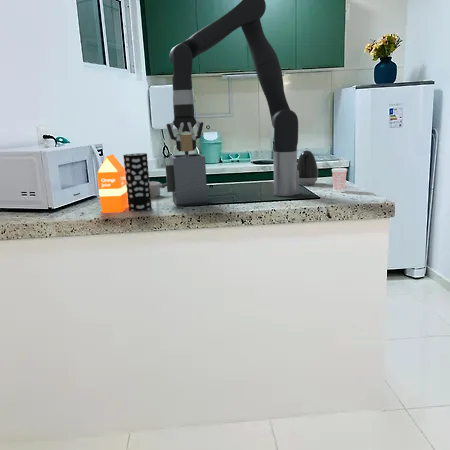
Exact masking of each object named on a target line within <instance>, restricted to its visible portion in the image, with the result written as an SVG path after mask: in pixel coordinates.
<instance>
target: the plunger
mask: <svg viewBox="0 0 450 450" xmlns="http://www.w3.org/2000/svg"><path fill="white" fill-rule="evenodd" d="M180 144H181V151H180V152H184V155H185V157H189V154H190V153H189V152H192V151H193V147H192V134H190V133H185V134H184V133H181V136H180ZM193 152H194V151H193Z"/></svg>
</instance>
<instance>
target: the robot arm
mask: <svg viewBox="0 0 450 450" xmlns="http://www.w3.org/2000/svg"><path fill="white" fill-rule="evenodd" d="M266 8H267V5H266V0H240V1H239V2H238V4H237V5H235V7H233V8H232V9H231V10H229V11H228V12H227V13H225V14H224V15H222V16H220V17H219V18H217V19H216V20H214V21H213V22H211V23H209V24H207V25H205V26H204V27H203V28H201V29H200V30H198V31H196V32H195V33H194V34H192V35H190V37H189V38H187V39H185V40H184V41H182V42H180V43H178V44H176V45H175V46H173V47H172V48H171V50H170V52H169V54H168V57H169V58H168V59H169V61H170V63H171V64H172V65H173V74H172V83H171V84H172V103H173V104H172V105H173V106H172V107H173V121H172V122H169V123H166V125H165V126H166V128H167V131H168V134H169V137H170V139H171V140H172V141H175V145H176V147H175V148H176V150H177V151H178V152H182V151H181V144H180V136H181V134H183V133H185V132H188V134H192V147H193V152H194V151H196V150H197V140H199V139H200V138H201V137H202V133H203V127H204V122H202V121H197V120H196V117H195V99H194V98H195V97H194V93H193V79H192V72H193V60H194V59H195V58H196V57H197V56H199V55H201V54H203V53H205V52H207V51H208V50H210V49H212V48H213V47H215V46H216V45H217V44H219V43H220V42H221V41H222V40H224V39H225V38H226V37H228V36H229V35H231V34H232V33H233V32H234V31H235V30H237V29H239V28H241V30H242V33H243V35H244V37H245V40H246V42H247V45H248V49H249V53H250V56H251V59H252V62H253V66H254V69H255V72H256V76H257V78H258V82H259V84H260V87H261V90H262V92H263V95H264V96H265V100H266V102H267V106H268V111H269V114H270V121H271V125H272V128H273V129H274V131H273V136H274V137H273V139H274V140H273V144H272V145H273V146H272V151H273V158H272V159H273V160H272V161H273V195H274V196H277V197H291V196H295V195H296V196H297V195H299V194H300V184H299V171H298V170H297V162H298V144H299V117H298V115H297V114H296V112H295V111H294V110H292V109H291V108H290V105H289V103H288V101H287V98H286V94H285V89H284V88H285V87H284V79H283V72H282V71H283V70H282V68H281V65H280V62H279V58H278V55H277V53H276V51H275V49H274V48H273V46H272V45H271V43H270V42H269V41H268V39H267V37H266V36H265V33H264V30H263V26H262V25H263V24H262V22H261V19H262V17H263V16H264V15H265V12H266ZM174 126H175V129H177V131H176V136H175V135H174V132H173V129H174ZM195 126H196V127H197V132H196V134H195V131H194V127H195Z"/></svg>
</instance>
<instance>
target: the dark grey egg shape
mask: <svg viewBox="0 0 450 450" xmlns="http://www.w3.org/2000/svg"><path fill="white" fill-rule="evenodd" d="M297 170H298V171H299V185H301V186H312V185H314V184H316V182H317V181H318V178H319V169H318V164H317V160H316V158H315V155H314V153H313V152H312V151H310V150H304V151H302V152H301V153H300V155H299V157H298V158H297Z"/></svg>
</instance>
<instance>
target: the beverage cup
mask: <svg viewBox="0 0 450 450" xmlns="http://www.w3.org/2000/svg"><path fill="white" fill-rule="evenodd" d="M347 172H348V168H346V167H345V168H344V167H341V156H339V157H338V167H337V168H336V167H334V168H332V169H331V173H332V175H331V176H332V192H334V193H344V192H345V191H346V182H347V181H346V180H347Z"/></svg>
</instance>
